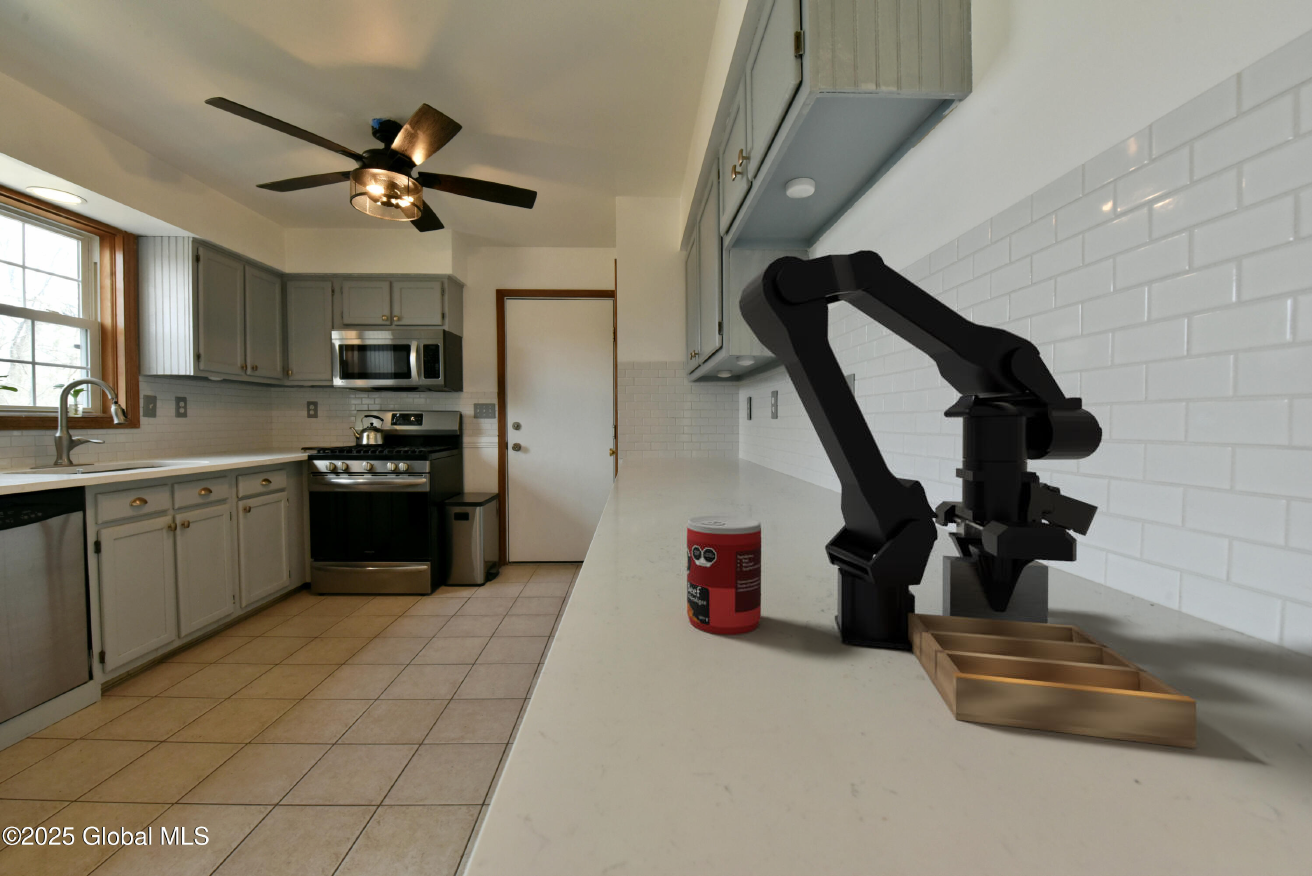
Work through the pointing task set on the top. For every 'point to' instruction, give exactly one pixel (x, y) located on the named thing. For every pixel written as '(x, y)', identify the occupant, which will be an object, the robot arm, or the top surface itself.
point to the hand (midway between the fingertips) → (992, 607)
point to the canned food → (724, 574)
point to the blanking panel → (971, 600)
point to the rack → (1047, 680)
